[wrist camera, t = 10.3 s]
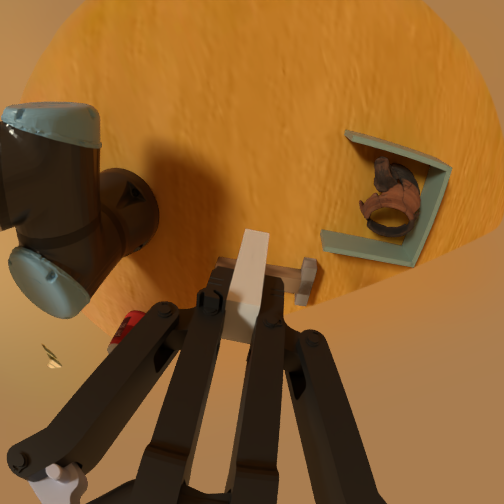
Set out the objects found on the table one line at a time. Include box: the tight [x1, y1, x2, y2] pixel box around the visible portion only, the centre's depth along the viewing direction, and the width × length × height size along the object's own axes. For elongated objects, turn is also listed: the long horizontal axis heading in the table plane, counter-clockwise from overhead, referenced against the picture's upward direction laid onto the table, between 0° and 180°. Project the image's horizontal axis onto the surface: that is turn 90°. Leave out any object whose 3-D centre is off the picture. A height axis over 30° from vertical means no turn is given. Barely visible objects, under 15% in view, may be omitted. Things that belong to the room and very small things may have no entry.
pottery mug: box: [359, 156, 421, 237], centre depth 36 cm, size 12×10×8 cm
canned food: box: [107, 311, 146, 354], centre depth 56 cm, size 8×8×11 cm
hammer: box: [215, 257, 317, 306], centre depth 47 cm, size 16×8×3 cm, turn 84°
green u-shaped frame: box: [320, 130, 452, 268], centre depth 37 cm, size 15×17×5 cm
